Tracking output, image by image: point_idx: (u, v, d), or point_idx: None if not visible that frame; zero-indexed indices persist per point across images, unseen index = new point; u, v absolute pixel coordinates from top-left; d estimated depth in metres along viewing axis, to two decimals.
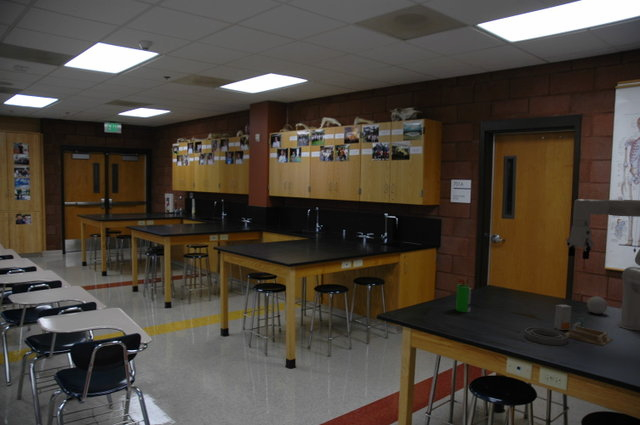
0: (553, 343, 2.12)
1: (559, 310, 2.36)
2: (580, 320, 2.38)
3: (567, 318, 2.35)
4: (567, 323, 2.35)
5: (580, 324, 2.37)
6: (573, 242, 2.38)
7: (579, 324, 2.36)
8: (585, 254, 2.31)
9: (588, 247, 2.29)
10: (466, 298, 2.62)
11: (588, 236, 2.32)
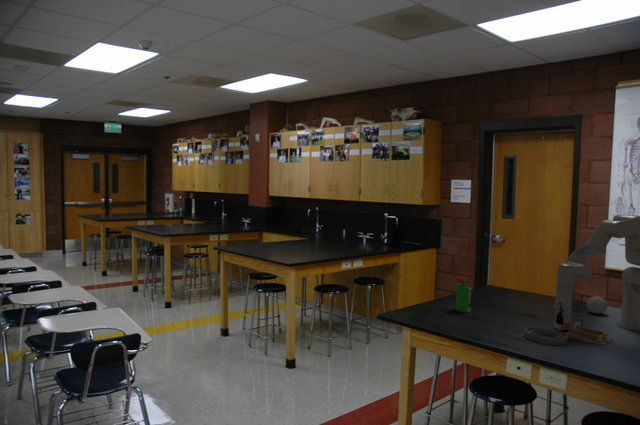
0: (553, 343, 2.12)
1: None
2: (580, 320, 2.38)
3: (567, 318, 2.35)
4: (567, 323, 2.35)
5: (580, 324, 2.37)
6: (566, 308, 2.34)
7: (579, 324, 2.36)
8: None
9: None
10: (466, 298, 2.62)
11: None
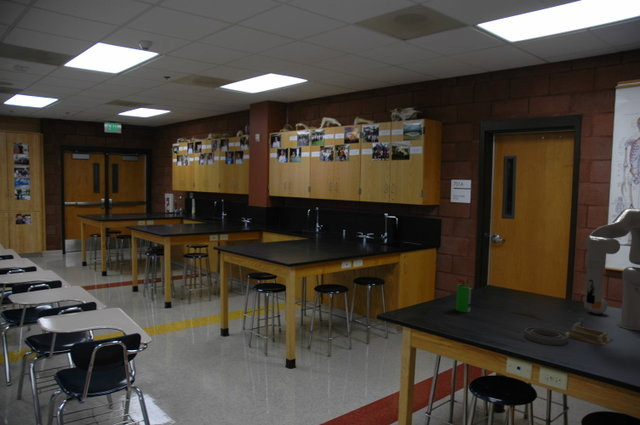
0: (553, 343, 2.12)
1: None
2: (580, 320, 2.38)
3: (599, 297, 2.19)
4: (598, 302, 2.19)
5: (580, 324, 2.37)
6: (598, 286, 2.18)
7: (579, 324, 2.36)
8: None
9: None
10: (466, 298, 2.62)
11: None
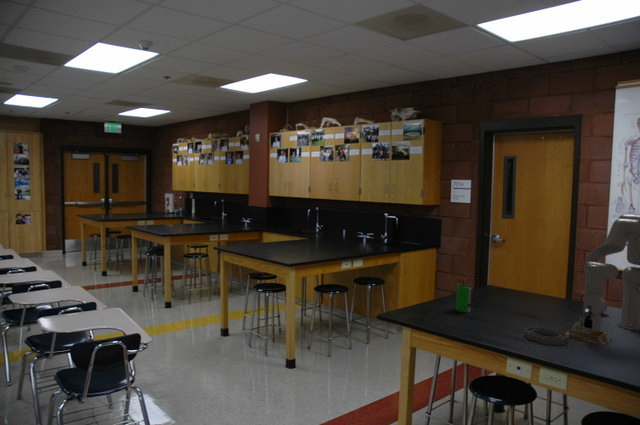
0: (553, 343, 2.12)
1: None
2: (580, 320, 2.38)
3: (597, 326, 2.20)
4: (596, 332, 2.20)
5: (580, 324, 2.37)
6: (596, 312, 2.19)
7: (579, 324, 2.36)
8: None
9: None
10: (466, 298, 2.62)
11: None
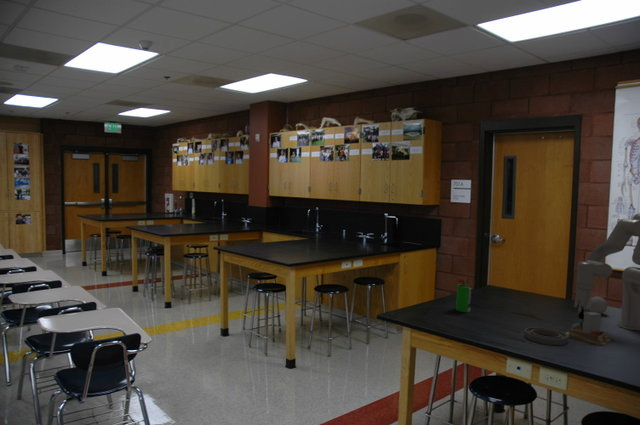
0: (553, 343, 2.12)
1: (587, 318, 2.21)
2: (579, 320, 2.37)
3: (597, 326, 2.20)
4: (596, 332, 2.20)
5: (579, 324, 2.36)
6: (586, 306, 2.36)
7: (578, 324, 2.35)
8: None
9: (586, 309, 2.40)
10: (466, 298, 2.62)
11: None
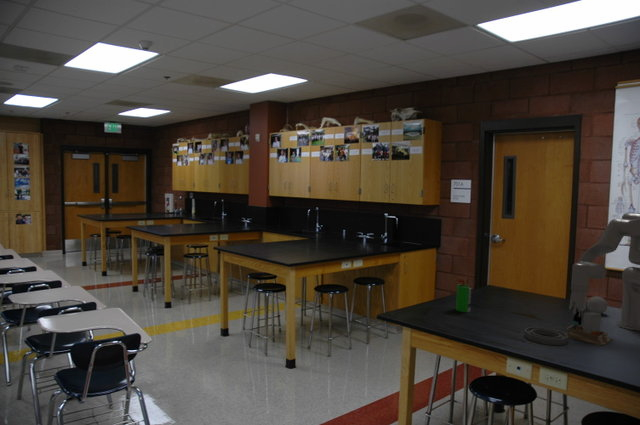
0: (553, 343, 2.12)
1: (587, 318, 2.21)
2: (574, 323, 2.33)
3: (597, 326, 2.20)
4: (596, 332, 2.20)
5: (574, 327, 2.31)
6: (581, 308, 2.31)
7: (573, 327, 2.30)
8: None
9: (581, 311, 2.35)
10: (466, 298, 2.62)
11: None
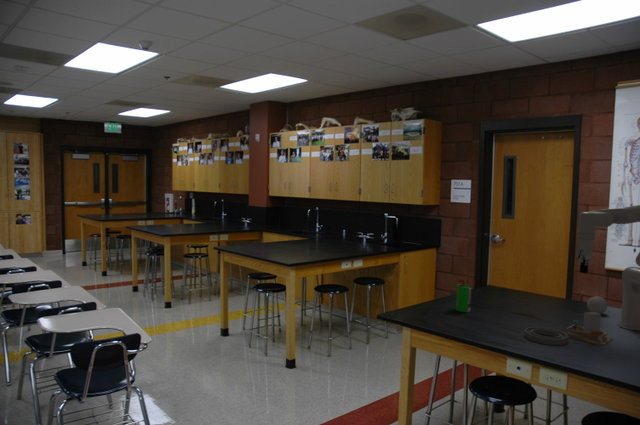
0: (553, 343, 2.12)
1: (587, 318, 2.21)
2: (574, 323, 2.33)
3: (597, 326, 2.20)
4: (596, 332, 2.20)
5: (574, 327, 2.31)
6: (588, 256, 2.33)
7: (573, 327, 2.30)
8: None
9: None
10: (466, 298, 2.62)
11: None
